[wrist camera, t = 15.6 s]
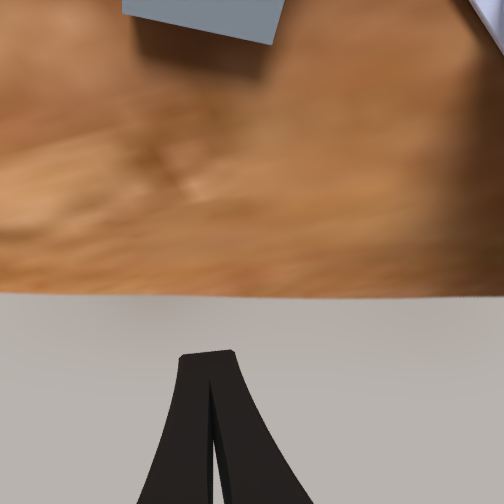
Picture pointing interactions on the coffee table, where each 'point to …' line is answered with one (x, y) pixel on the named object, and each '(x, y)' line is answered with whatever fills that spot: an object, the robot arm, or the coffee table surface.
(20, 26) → the coffee table surface
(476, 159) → the coffee table surface
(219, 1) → the domino
